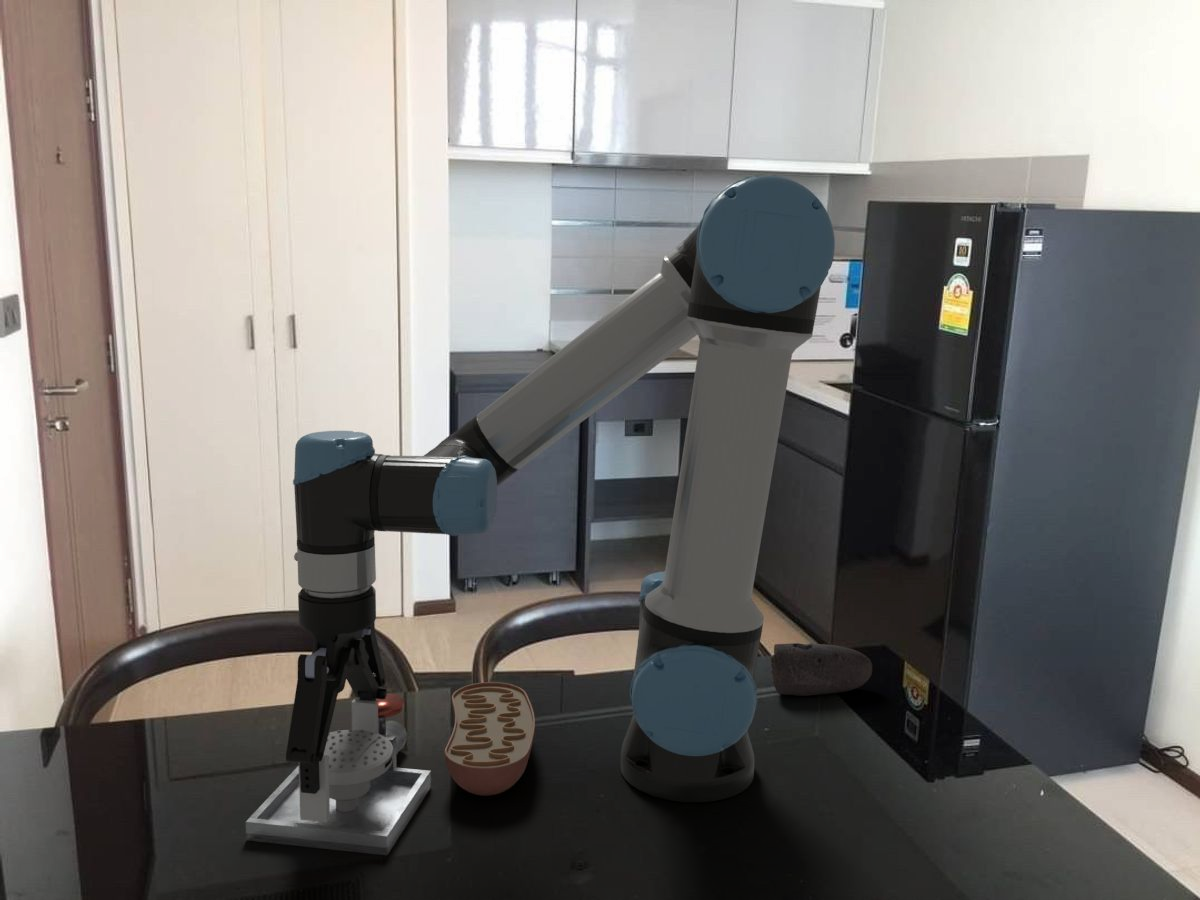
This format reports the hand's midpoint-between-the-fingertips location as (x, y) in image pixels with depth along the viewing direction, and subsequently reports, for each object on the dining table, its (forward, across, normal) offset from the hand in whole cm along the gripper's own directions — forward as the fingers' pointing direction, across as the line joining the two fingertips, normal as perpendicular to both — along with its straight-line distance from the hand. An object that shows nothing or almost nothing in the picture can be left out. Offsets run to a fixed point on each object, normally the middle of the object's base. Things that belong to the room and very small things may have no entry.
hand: (342, 787), depth 107 cm
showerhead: (+2, 0, 0) cm, 2 cm away
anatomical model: (+3, -15, +12) cm, 19 cm away
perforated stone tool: (+3, -42, +51) cm, 66 cm away
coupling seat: (+3, -4, 0) cm, 5 cm away
